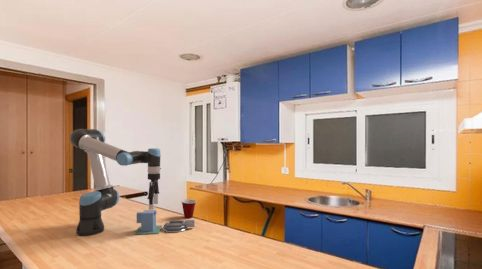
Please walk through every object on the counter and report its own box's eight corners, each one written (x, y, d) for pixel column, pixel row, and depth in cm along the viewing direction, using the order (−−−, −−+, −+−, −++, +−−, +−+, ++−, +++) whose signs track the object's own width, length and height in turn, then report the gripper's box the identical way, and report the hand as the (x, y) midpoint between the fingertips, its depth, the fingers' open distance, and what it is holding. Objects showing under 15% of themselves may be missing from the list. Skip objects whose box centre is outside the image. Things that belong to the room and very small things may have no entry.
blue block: (139, 227, 173) (139, 210, 173) (157, 227, 174) (157, 210, 174) (135, 231, 166) (135, 213, 166) (154, 231, 167) (154, 213, 167)
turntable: (166, 223, 180) (166, 216, 180) (196, 223, 180) (196, 216, 180) (161, 230, 166) (161, 223, 166) (192, 230, 166) (192, 223, 166)
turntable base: (161, 233, 165) (161, 232, 165) (164, 225, 179) (164, 224, 179) (186, 232, 166) (186, 230, 166) (188, 224, 181) (188, 223, 181)
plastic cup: (193, 219, 191) (193, 202, 192) (178, 219, 193) (178, 202, 193) (198, 215, 202) (198, 199, 202) (184, 214, 204) (184, 198, 204)
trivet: (134, 235, 162) (134, 234, 162) (139, 227, 176) (139, 226, 176) (158, 233, 164) (158, 232, 164) (162, 226, 178) (162, 225, 178)
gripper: (156, 175, 162) (155, 212, 161) (163, 170, 186) (163, 201, 186) (142, 175, 161) (142, 212, 161) (152, 170, 186) (151, 201, 185)
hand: (153, 206), depth 173 cm, fingers open, 13 cm apart
